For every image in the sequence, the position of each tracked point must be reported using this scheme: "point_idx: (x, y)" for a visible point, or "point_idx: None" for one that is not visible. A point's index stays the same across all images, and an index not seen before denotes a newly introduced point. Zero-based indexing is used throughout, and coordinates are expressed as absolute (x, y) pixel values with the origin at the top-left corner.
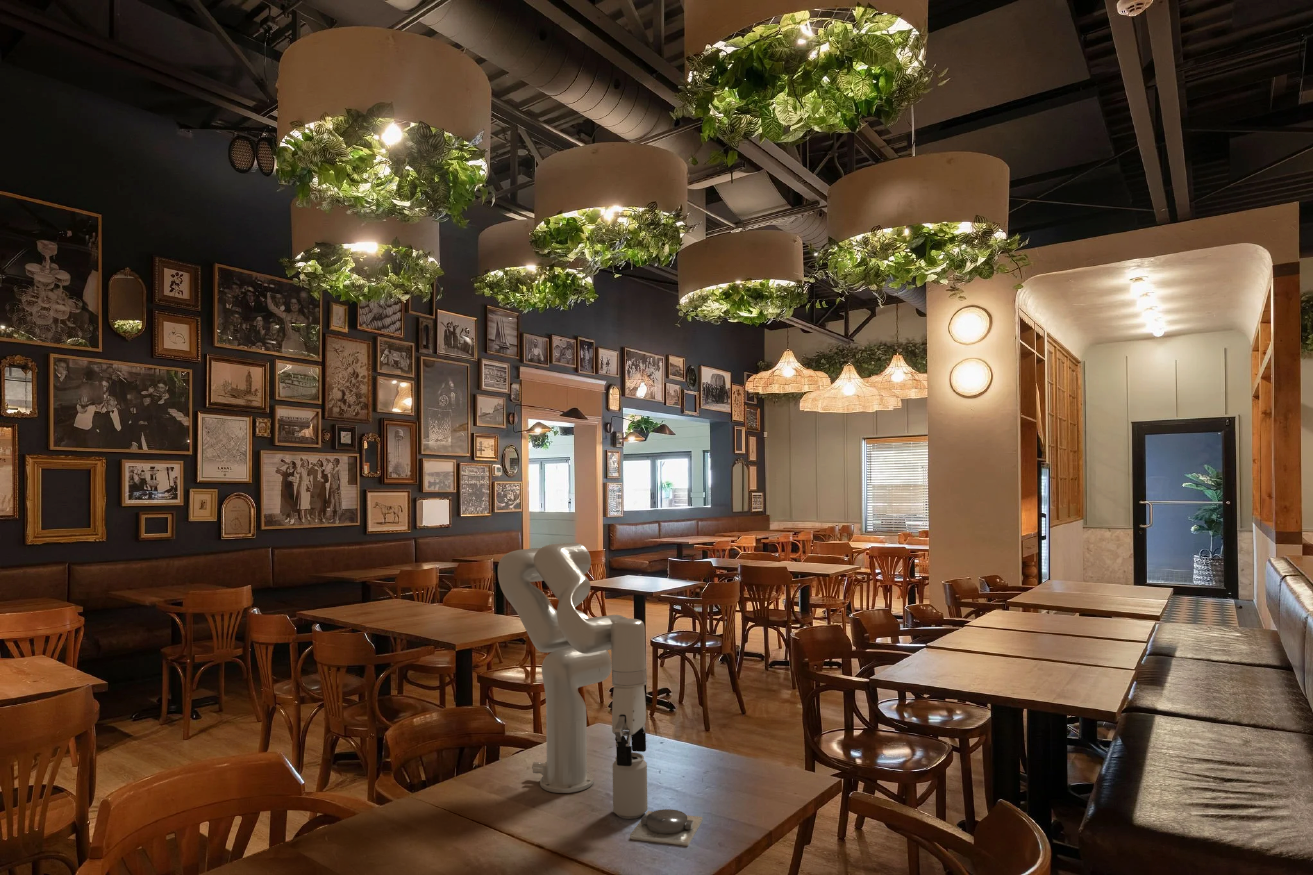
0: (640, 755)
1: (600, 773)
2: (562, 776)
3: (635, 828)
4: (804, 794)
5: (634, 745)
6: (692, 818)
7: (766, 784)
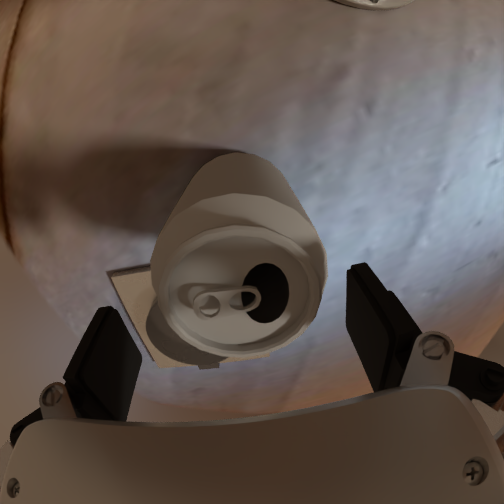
0: (295, 327)
1: (447, 17)
2: None
3: (142, 273)
4: None
5: (357, 298)
6: None
7: None
